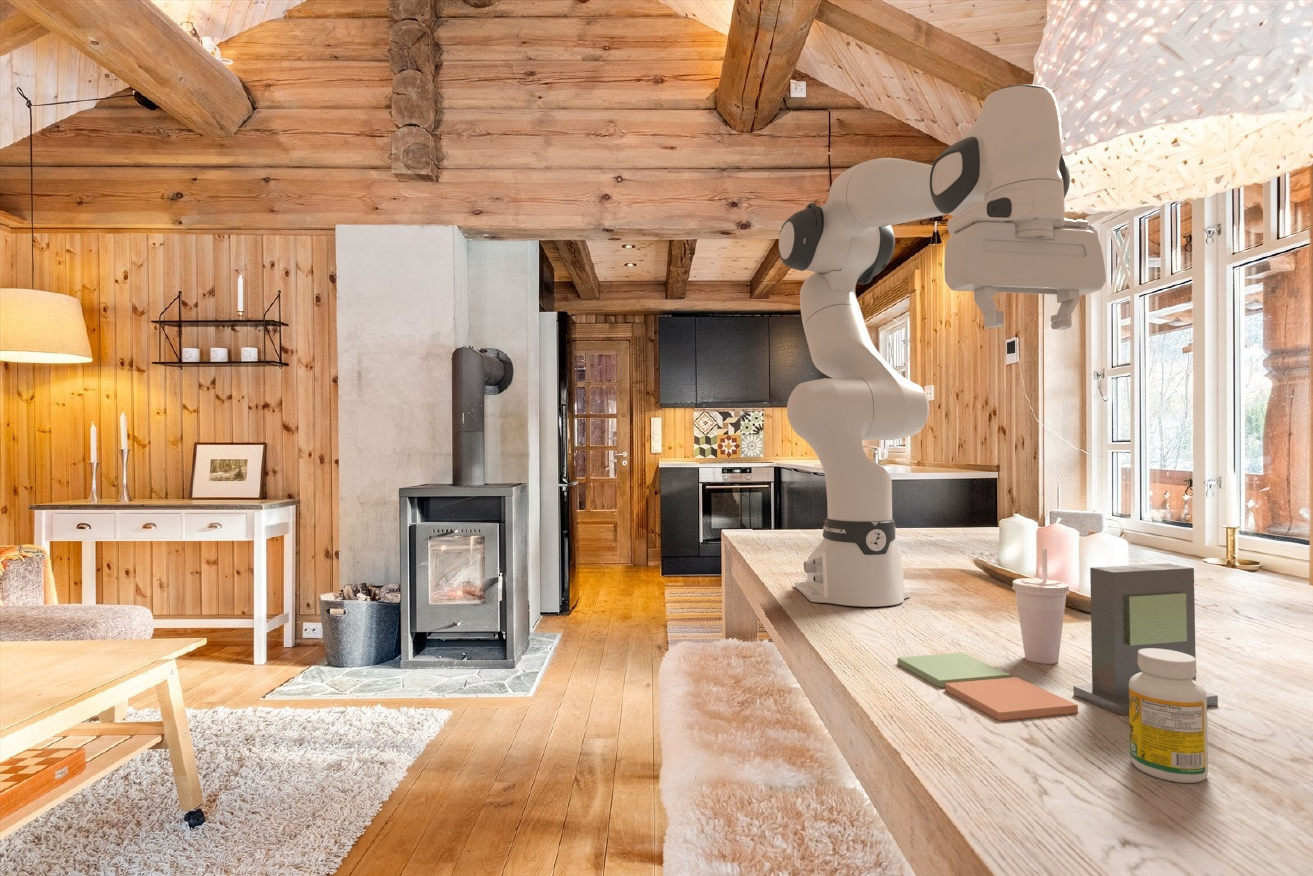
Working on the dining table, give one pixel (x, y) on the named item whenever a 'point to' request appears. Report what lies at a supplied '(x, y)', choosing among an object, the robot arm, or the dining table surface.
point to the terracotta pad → (1010, 698)
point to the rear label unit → (1136, 626)
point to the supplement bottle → (1168, 717)
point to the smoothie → (1041, 615)
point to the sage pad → (950, 668)
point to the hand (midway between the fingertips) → (1028, 328)
